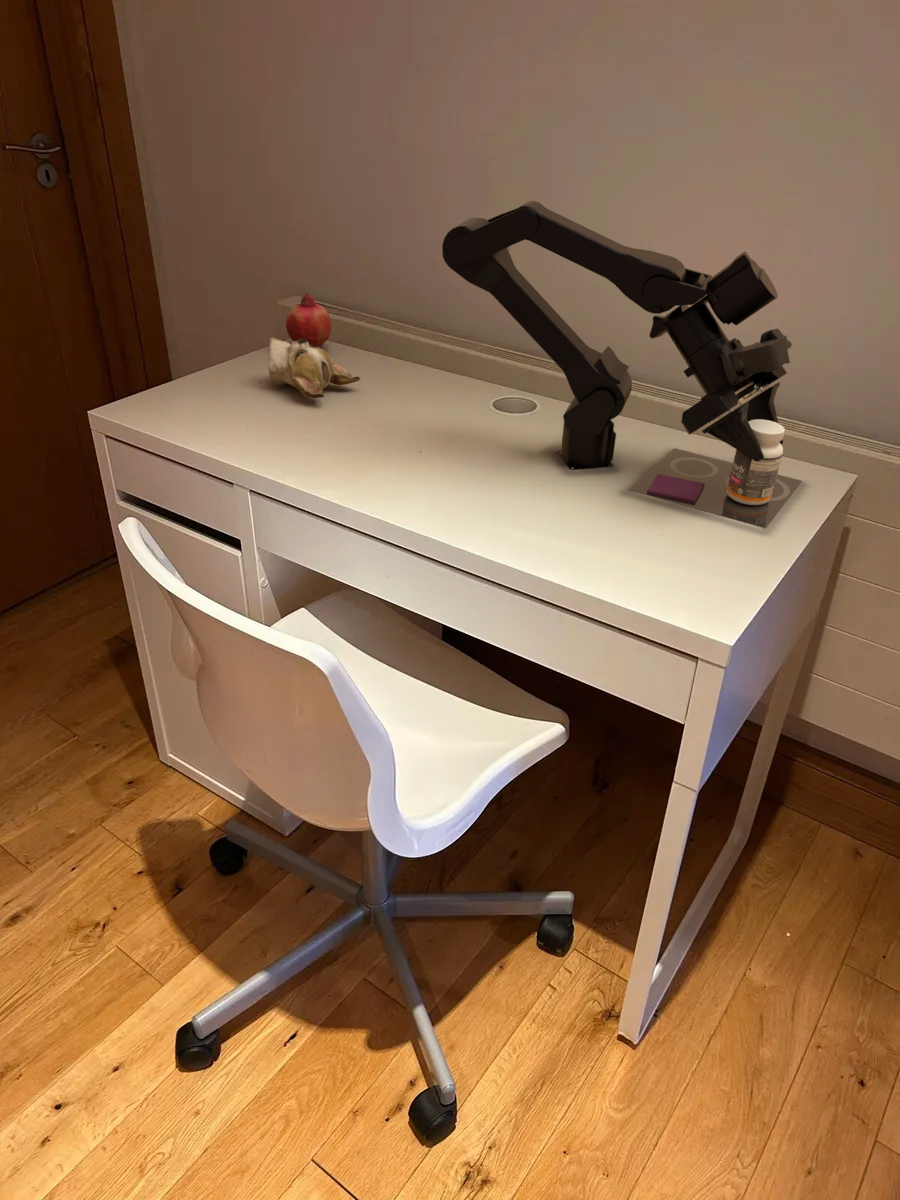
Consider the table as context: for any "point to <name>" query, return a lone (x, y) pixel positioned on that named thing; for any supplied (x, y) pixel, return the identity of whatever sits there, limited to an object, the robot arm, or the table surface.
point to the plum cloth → (676, 488)
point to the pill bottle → (757, 466)
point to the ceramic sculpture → (305, 367)
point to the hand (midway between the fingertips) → (770, 452)
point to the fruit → (309, 322)
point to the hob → (716, 487)
